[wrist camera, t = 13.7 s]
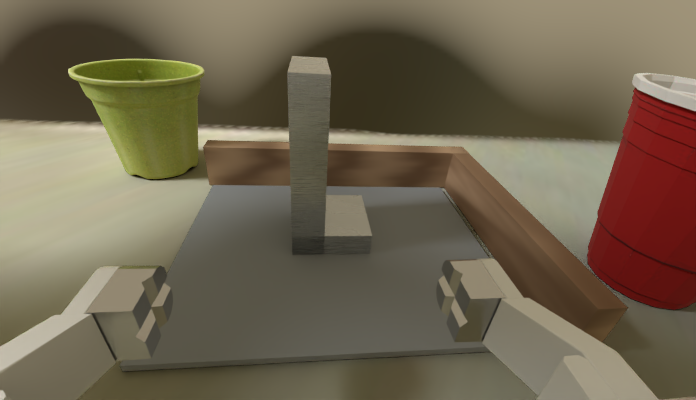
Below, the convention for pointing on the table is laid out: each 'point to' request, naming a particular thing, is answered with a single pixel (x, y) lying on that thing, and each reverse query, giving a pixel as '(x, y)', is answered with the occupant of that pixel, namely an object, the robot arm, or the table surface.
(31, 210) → the table surface
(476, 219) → the corner walls
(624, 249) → the plastic cup
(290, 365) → the table surface
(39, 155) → the table surface
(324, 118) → the steel bookend
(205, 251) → the felt mat
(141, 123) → the plant pot
